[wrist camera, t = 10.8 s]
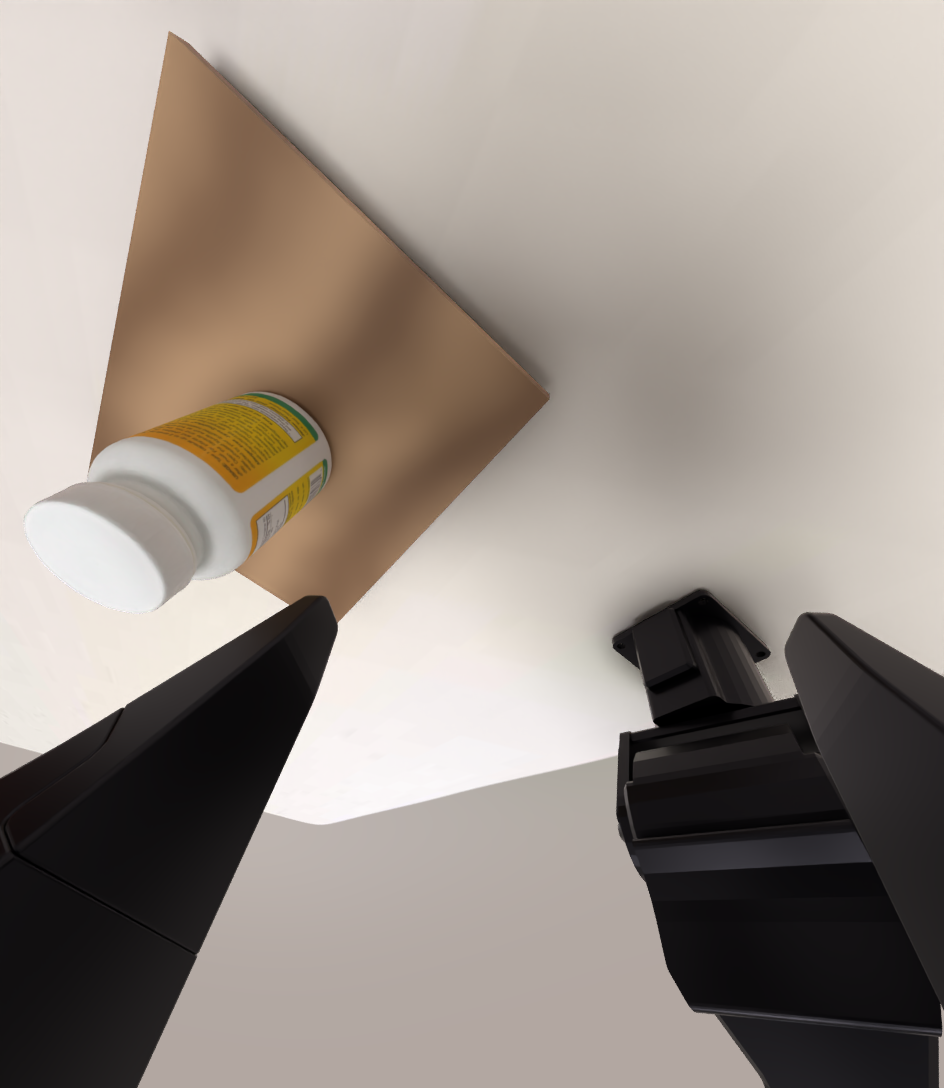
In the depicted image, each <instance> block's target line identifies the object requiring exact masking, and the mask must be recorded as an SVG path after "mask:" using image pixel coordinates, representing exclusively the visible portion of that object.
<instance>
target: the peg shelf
mask: <svg viewBox="0 0 944 1088" xmlns="http://www.w3.org/2000/svg"><path fill="white" fill-rule="evenodd" d="M250 392H268V393H273V394H277V395H280V396H282V397H285V398H287V399H288V400H290V401H292V402H293V403H295V404H296V405H298V406H299V407H300V408H302V409H303V410H304V411H305V412H306V413H307V414H308V415H309V416H310V417H311V418H312V419H313V420H314V421H315V422H316V423H317V424H318V426H319V427H320V429H321V430H322V432H323V434H324V436H325V438H326V440H327V442H328V445H329V448H330V452H331V460H332V467H331V473H330V477H329V479H328V481H327V483H326V485H325V486H324V488H323V489H322V490H321V491H320V492H319V493H318V494H317V495H316V496H315V497H314V498H313V499H312V500H311V501H310V502H309V503H308V504H307V505H306V506H305V507H304V508H302V509H301V510H300V511H299V512H298V513H297V514H296V515H295V516H294V517H292V518H291V519H290V520H289V521H288V522H287V523H286V524H285V525H284V526H283V527H282V528H281V529H279V531H278V532H277V533H275V534H274V535H273V536H272V537H271V538H270V539H269V540H268V541H267V542H266V543H265V544H264V545H263V546H262V547H260V548H259V549H258V550H257V551H256V552H255V553H254V554H253V555H252V556H251V557H250V558H248V559H247V560H246V561H245V562H244V563H243V564H242V565H240V566H239V567H238V568H237V569H235V571H237V572H238V573H240V574H242V575H243V576H245V577H246V578H248V579H250V580H251V581H253V582H254V583H256V584H257V585H259V586H261V587H262V588H264V589H265V590H267V591H268V592H270V593H272V594H273V595H275V596H276V597H278V598H279V599H281V600H283V601H284V602H286V603H287V604H289V605H291V604H293V603H294V602H296V601H298V600H299V599H301V598H303V597H304V596H307V595H322V596H325V597H326V598H327V599H328V600H329V603H330V605H331V608H332V610H333V613H334V615H335V618H336V620H337V623H338V622H339V621H340V620H341V619H342V618H343V616H344V615H345V614H346V613H347V612H348V611H349V610H350V609H351V608H352V607H353V606H354V605H355V604H356V603H357V602H358V601H359V600H360V599H361V597H362V596H363V595H364V594H365V593H366V592H367V591H368V590H369V589H370V588H371V587H372V586H373V585H374V584H375V583H376V582H377V581H378V580H379V578H380V577H381V576H382V575H383V574H384V573H385V572H386V571H387V570H388V569H389V568H390V567H391V566H392V565H393V564H394V563H395V562H396V561H397V560H398V558H399V557H400V556H401V555H402V554H403V553H404V552H405V551H406V550H407V549H408V548H409V547H410V546H411V545H412V544H413V543H414V542H415V541H416V539H417V538H418V537H419V536H420V535H421V534H422V533H423V532H424V531H425V530H426V529H427V528H428V527H429V526H430V525H431V524H432V523H433V522H434V520H435V519H436V518H437V517H438V516H439V515H440V514H441V513H442V512H443V511H444V510H445V509H446V508H447V507H448V506H449V505H450V504H451V503H452V501H453V500H454V499H455V498H456V497H457V496H458V495H459V494H460V493H461V492H462V491H463V490H464V489H465V488H466V487H467V486H468V485H469V484H470V482H471V481H472V480H473V479H474V478H475V477H476V476H477V475H478V474H479V473H480V472H481V471H482V470H483V469H484V468H485V467H486V466H487V465H488V463H489V462H490V461H491V460H492V459H493V458H494V457H495V456H496V455H497V454H498V453H499V452H500V451H501V450H502V449H503V448H504V447H505V446H506V444H507V443H508V442H509V441H510V440H511V439H512V438H513V437H514V436H515V435H516V434H517V433H518V432H519V431H520V430H521V429H522V428H523V427H524V425H525V424H526V423H527V422H528V421H529V420H530V419H531V418H532V417H533V416H534V415H535V414H536V413H537V412H538V411H539V410H540V409H541V408H542V406H543V405H544V404H545V403H546V402H547V401H548V400H549V393H548V392H546V391H545V390H544V389H543V388H542V387H541V386H540V385H539V384H538V383H537V382H536V381H535V380H534V379H533V378H532V377H531V376H530V375H529V374H528V373H527V372H526V371H525V370H524V369H523V368H522V367H521V366H520V365H519V364H518V363H517V362H516V361H515V360H514V359H513V358H512V357H511V356H510V355H508V354H507V353H506V352H505V351H504V350H503V349H502V348H501V347H500V346H499V345H498V344H497V343H496V342H495V341H494V340H493V339H492V338H491V337H490V336H489V335H488V334H487V333H486V332H485V331H484V330H483V329H482V328H481V327H480V326H479V325H478V324H477V323H476V322H475V321H474V320H473V319H471V318H470V317H469V316H468V315H467V314H466V313H465V312H464V311H463V310H462V309H461V308H460V307H459V306H458V305H457V304H456V303H455V302H454V301H453V300H452V299H451V298H450V297H449V296H448V295H447V294H446V293H445V292H444V291H443V290H442V289H441V288H440V287H439V286H438V285H437V284H436V283H434V282H433V281H432V280H431V279H430V278H429V277H428V276H427V275H426V274H425V273H424V272H423V271H422V270H421V269H420V268H419V267H418V266H417V265H416V264H415V263H414V262H413V261H412V260H411V259H410V258H409V257H408V256H407V255H406V254H405V253H404V252H403V251H402V250H401V249H400V248H399V247H398V246H396V245H395V244H394V243H393V242H392V241H391V240H390V239H389V238H388V237H387V236H386V235H385V234H384V233H383V232H382V231H381V230H380V229H379V228H378V227H377V226H376V225H375V224H374V223H373V222H372V221H371V220H370V219H369V218H368V217H367V216H366V215H365V214H364V213H363V212H362V211H361V210H359V209H358V208H357V207H356V206H355V205H354V204H353V203H352V202H351V201H350V200H349V199H348V198H347V197H346V196H345V195H344V194H343V193H342V192H341V191H340V190H339V189H338V188H337V187H336V186H335V185H334V184H333V183H332V182H331V181H330V180H329V179H328V178H327V177H326V176H325V175H324V174H322V173H321V172H320V171H319V170H318V169H317V168H316V167H315V166H314V165H313V164H312V163H311V162H310V161H309V160H308V159H307V158H306V157H305V156H304V155H303V154H302V153H301V152H300V151H299V150H298V149H297V148H296V147H295V146H294V145H293V144H292V143H291V142H290V141H289V140H288V139H287V138H286V137H284V136H283V135H282V134H281V133H280V132H279V131H278V130H277V129H276V128H275V127H274V126H273V125H272V124H271V123H270V122H269V121H268V120H267V119H266V118H265V117H264V116H263V115H262V114H261V113H260V112H259V111H258V110H257V109H256V108H255V107H254V106H253V105H252V104H251V103H250V102H249V101H247V100H246V99H245V98H244V97H243V96H242V95H241V94H240V93H239V92H238V91H237V90H236V89H235V88H234V87H233V86H232V85H231V84H230V83H229V82H228V81H227V80H226V79H225V78H224V77H223V76H222V75H221V74H220V73H219V72H218V71H217V70H216V69H215V68H214V67H213V66H212V65H210V64H209V63H208V62H207V61H206V60H205V59H204V58H203V57H202V56H201V55H200V54H199V53H198V52H197V51H196V50H195V49H194V48H193V47H192V46H191V45H190V44H189V43H187V42H186V41H184V40H183V39H181V38H179V37H178V36H176V35H175V34H173V33H172V32H170V31H169V34H168V39H167V44H166V50H165V55H164V61H163V66H162V72H161V77H160V83H159V88H158V94H157V99H156V105H155V110H154V116H153V121H152V127H151V132H150V138H149V143H148V148H147V154H146V159H145V165H144V170H143V176H142V181H141V187H140V192H139V198H138V203H137V209H136V214H135V220H134V225H133V231H132V236H131V242H130V247H129V253H128V258H127V263H126V269H125V274H124V280H123V285H122V291H121V296H120V302H119V307H118V313H117V318H116V324H115V329H114V335H113V340H112V346H111V351H110V357H109V362H108V367H107V373H106V378H105V384H104V389H103V395H102V400H101V406H100V411H99V417H98V422H97V428H96V433H95V439H94V444H93V450H92V455H91V461H90V466H89V469H90V467H91V465H92V463H93V461H94V459H95V458H96V457H97V455H98V454H99V453H100V452H102V451H103V450H104V449H105V448H106V447H108V446H110V445H111V444H113V443H115V442H118V441H120V440H122V439H125V438H128V437H130V436H133V435H136V434H138V433H141V432H144V431H146V430H149V429H151V428H154V427H157V426H160V425H162V424H165V423H168V422H170V421H173V420H175V419H178V418H181V417H183V416H186V415H189V414H191V413H194V412H196V411H199V410H202V409H204V408H207V407H210V406H212V405H215V404H217V403H220V402H223V401H226V400H229V399H231V398H233V397H236V396H240V395H243V394H245V393H250ZM88 473H89V471H88Z"/></svg>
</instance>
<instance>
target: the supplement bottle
mask: <svg viewBox="0 0 944 1088" xmlns="http://www.w3.org/2000/svg"><path fill="white" fill-rule="evenodd" d="M331 467H332V460H331V452H330V448H329V445H328V442H327V440H326V438H325V436H324V434H323V432H322V430H321V429H320V427H319V426H318V424H317V423H316V422H315V421H314V420H313V419H312V418H311V417H310V416H309V415H308V414H307V413H306V412H305V411H304V410H303V409H302V408H300V407H299V406H298V405H296V404H295V403H293V402H292V401H290V400H288V399H287V398H285V397H282V396H280V395H277V394H273V393H268V392H250V393H245V394H243V395H240V396H236V397H233V398H231V399H229V400H226V401H223V402H220V403H217V404H215V405H212V406H210V407H207V408H204V409H202V410H199V411H196V412H194V413H191V414H189V415H186V416H183V417H181V418H178V419H175V420H173V421H170V422H168V423H165V424H162V425H160V426H157V427H154V428H151V429H149V430H146V431H144V432H141V433H138V434H136V435H133V436H130V437H128V438H125V439H122V440H120V441H118V442H115V443H113V444H111V445H110V446H108V447H106V448H105V449H104V450H103V451H102V452H100V453H99V454H98V455H97V457H96V458H95V459H94V461H93V463H92V465H91V467H90V469H89V473H88V478H87V482H85V483H78V484H75V485H72V486H70V487H68V488H66V489H65V490H63V491H61V492H59V493H56V494H54V495H52V496H50V497H48V498H46V499H44V500H42V501H39V502H37V503H36V504H35V505H34V506H32V507H31V508H30V509H29V510H28V512H27V513H26V515H25V517H24V530H25V534H26V537H27V540H28V542H29V544H30V545H31V547H32V549H33V551H34V552H35V554H36V555H37V557H38V558H39V559H40V561H41V562H42V563H43V564H44V565H45V566H46V568H48V569H49V570H50V571H51V572H52V573H53V574H54V575H55V576H56V577H57V578H58V579H60V580H61V581H62V582H63V583H65V584H66V585H67V586H68V587H70V588H71V589H73V590H74V591H76V592H78V593H79V594H81V595H82V596H84V597H86V598H88V599H89V600H91V601H93V602H95V603H97V604H100V605H102V606H105V607H107V608H110V609H114V610H117V611H121V612H127V613H134V614H141V613H147V612H151V611H154V610H156V609H158V608H159V607H160V606H162V605H163V604H164V603H165V602H167V601H168V600H169V599H170V598H172V597H173V596H174V595H175V594H177V593H178V592H179V591H181V590H182V589H184V588H185V587H186V586H187V585H188V584H189V582H190V581H191V580H209V579H214V578H218V577H221V576H224V575H226V574H229V573H230V572H232V571H234V570H235V569H237V568H238V567H239V566H240V565H242V564H243V563H244V562H245V561H246V560H247V559H248V558H250V557H251V556H252V555H253V554H254V553H255V552H256V551H257V550H258V549H259V548H260V547H262V546H263V545H264V544H265V543H266V542H267V541H268V540H269V539H270V538H271V537H272V536H273V535H274V534H275V533H277V532H278V531H279V529H281V528H282V527H283V526H284V525H285V524H286V523H287V522H288V521H289V520H290V519H291V518H292V517H294V516H295V515H296V514H297V513H298V512H299V511H300V510H301V509H302V508H304V507H305V506H306V505H307V504H308V503H309V502H310V501H311V500H312V499H313V498H314V497H315V496H316V495H317V494H318V493H319V492H320V491H321V490H322V489H323V488H324V486H325V485H326V483H327V481H328V479H329V477H330V473H331Z"/></svg>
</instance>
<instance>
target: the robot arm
mask: <svg viewBox="0 0 944 1088" xmlns="http://www.w3.org/2000/svg"><path fill="white" fill-rule="evenodd" d="M703 598H704V600H702V601H700V599H703ZM337 631H338V624H337V620H336V618H335V615H334V613H333V610H332V608H331V605H330V603H329V600H328V599H327V598H326V597H325V596H322V595H307V596H304V597H303V598H301V599H299V600H298V601H296V602H294V603H293V604H291V605H289V606H288V607H286V608H285V609H283V610H281V611H280V612H278V613H276V614H275V615H273V616H271V617H270V618H268V619H266V620H265V621H263V622H262V623H260V624H258V625H257V626H255V627H253V628H252V629H250V630H248V631H247V632H245V633H243V634H242V635H240V636H239V637H237V638H235V639H234V640H232V641H230V642H229V643H227V644H225V645H224V646H222V647H221V648H219V649H217V650H216V651H214V652H212V653H211V654H209V655H207V656H206V657H204V658H202V659H201V660H199V661H198V662H196V663H194V664H193V665H191V666H189V667H188V668H186V669H184V670H183V671H181V672H179V673H178V674H176V675H175V676H173V677H171V678H170V679H168V680H166V681H165V682H163V683H161V684H160V685H158V686H157V687H155V688H153V689H152V690H150V691H148V692H147V693H145V694H143V695H142V696H140V697H138V698H137V699H135V700H134V701H132V702H130V703H129V704H127V705H126V707H125V708H120V709H119V710H117V711H115V712H114V713H112V714H110V715H109V716H107V717H106V718H104V719H102V720H101V721H99V722H97V723H96V724H94V725H92V726H91V727H89V728H87V729H86V730H84V731H82V732H81V733H79V734H77V735H76V736H74V737H72V738H70V739H69V740H67V741H65V742H64V743H62V744H60V745H59V746H57V747H55V748H53V749H52V750H50V751H48V752H46V753H44V754H43V755H41V756H39V757H37V758H36V759H34V760H32V761H30V762H28V763H27V764H25V765H23V766H21V767H20V768H18V769H16V770H14V771H13V772H11V773H9V774H7V775H5V776H3V777H2V778H0V1088H137V1087H138V1085H139V1083H140V1081H141V1078H142V1076H143V1074H144V1072H145V1070H146V1068H147V1065H148V1063H149V1061H150V1059H151V1057H152V1054H153V1052H154V1050H155V1048H156V1046H157V1043H158V1041H159V1039H160V1037H161V1035H162V1033H163V1030H164V1028H165V1026H166V1024H167V1022H168V1019H169V1017H170V1015H171V1013H172V1011H173V1009H174V1006H175V1004H176V1002H177V1000H178V998H179V995H180V993H181V991H182V989H183V987H184V985H185V982H186V980H187V978H188V976H189V974H190V971H191V969H192V967H193V965H194V963H195V960H196V958H197V953H199V951H200V949H201V947H202V944H203V942H204V940H205V938H206V936H207V933H208V931H209V929H210V927H211V925H212V923H213V920H214V918H215V916H216V913H217V911H218V909H219V907H220V905H221V903H222V900H223V898H224V896H225V894H226V892H227V890H228V888H229V885H230V883H231V881H232V879H233V877H234V874H235V872H236V870H237V868H238V865H239V863H240V861H241V859H242V857H243V855H244V852H245V850H246V848H247V846H248V843H249V841H250V839H251V837H252V835H253V833H254V831H255V828H256V826H257V824H258V822H259V819H260V818H261V815H262V813H263V811H264V809H265V807H266V804H267V802H268V800H269V798H270V796H271V793H272V791H273V789H274V787H275V785H276V783H277V780H278V778H279V776H280V774H281V772H282V769H283V767H284V765H285V763H286V761H287V758H288V756H289V754H290V752H291V750H292V748H293V745H294V743H295V741H296V739H297V737H298V734H299V732H300V730H301V728H302V726H303V723H304V721H305V719H306V717H307V715H308V713H309V710H310V708H311V706H312V703H313V701H314V699H315V696H316V694H317V691H318V688H319V686H320V683H321V680H322V677H323V674H324V671H325V668H326V665H327V662H328V659H329V656H330V653H331V650H332V647H333V644H334V641H335V638H336V636H337ZM620 643H623V644H620ZM612 644H613V648H614V649H615V650H616V651H617V652H618V653H620V654H621V655H622V656H623V657H625V658H626V659H627V660H628V661H630V662H631V663H632V664H633V665H635V666H636V667H637V668H639V669H640V670H641V675H642V679H643V684H644V686H645V688H646V693H647V697H648V702H649V706H650V710H651V715H652V719H653V722H654V723H655V728H651V729H646V730H642V731H637V732H633V733H631V732H630V731H628V732H624V733H620V742H619V749H618V779H617V807H616V808H617V809H616V815H617V819H618V822H619V824H618V830H619V834H620V837H621V838H622V840H623V841H624V842H625V843H626V846H627V849H628V851H629V854H630V857H631V859H632V861H633V864H634V866H635V868H636V869H637V871H638V873H639V875H640V876H641V877H642V878H643V880H644V881H645V882H646V884H647V887H648V891H649V894H650V897H651V901H652V904H653V908H654V912H655V916H656V921H657V925H658V929H659V934H660V939H661V943H662V948H663V952H664V956H665V961H666V965H667V968H668V970H669V972H670V974H671V976H672V978H673V980H674V981H675V983H676V985H677V986H678V988H679V990H680V991H681V993H682V995H683V997H684V999H685V1000H686V1002H687V1004H688V1005H689V1007H690V1008H691V1009H692V1010H693V1011H694V1012H696V1013H707V1014H715V1015H716V1017H717V1018H718V1019H719V1021H720V1022H721V1023H722V1025H723V1026H724V1027H725V1029H726V1030H727V1032H728V1033H729V1034H730V1036H731V1037H732V1039H733V1040H734V1041H735V1043H736V1044H737V1045H738V1047H739V1048H740V1050H741V1051H742V1052H743V1054H744V1055H745V1056H746V1058H747V1059H748V1060H749V1062H750V1063H751V1064H752V1066H753V1067H754V1069H755V1070H756V1071H757V1073H758V1074H759V1076H760V1078H761V1079H762V1081H763V1083H764V1086H765V1088H939V1046H938V1043H939V1041H938V1037H941V1036H942V1019H941V1005H942V1007H943V1010H944V677H943V676H941V675H939V674H938V673H936V672H934V671H932V670H931V669H929V668H927V667H925V666H924V665H922V664H920V663H918V662H917V661H915V660H913V659H912V658H910V657H908V656H906V655H905V654H903V653H901V652H899V651H898V650H896V649H894V648H892V647H891V646H889V645H887V644H885V643H884V642H882V641H880V640H878V639H877V638H875V637H873V636H871V635H870V634H868V633H866V632H864V631H863V630H861V629H859V628H857V627H856V626H854V625H852V624H851V623H849V622H847V621H845V620H844V619H842V618H840V617H838V616H836V615H834V614H831V613H817V612H806V613H803V614H801V615H800V616H799V617H798V619H797V621H796V623H795V625H794V628H793V630H792V632H791V634H790V636H789V638H788V640H787V642H786V645H785V657H786V661H787V664H788V666H789V669H790V672H791V675H792V678H793V681H794V683H795V686H796V689H797V692H798V694H796V695H794V696H795V697H793V698H788V699H783V700H779V701H774V699H773V697H772V695H771V693H770V691H769V689H768V688H767V686H766V684H765V682H764V680H763V678H762V676H761V674H760V672H759V670H758V668H757V667H756V665H755V663H757V662H759V661H761V660H764V659H766V658H768V657H769V656H770V653H771V652H770V651H769V649H768V647H767V646H766V645H765V644H764V643H763V642H762V641H761V640H760V639H759V638H758V637H757V636H756V635H755V634H754V633H753V632H751V631H750V630H749V629H748V628H747V627H746V626H745V625H744V624H743V623H742V622H741V621H740V620H739V619H737V618H736V617H735V616H734V615H733V614H732V613H731V612H730V611H729V610H728V609H727V608H726V607H725V606H723V605H722V604H721V603H720V602H719V601H718V600H717V599H716V598H715V597H714V596H713V595H712V594H711V593H709V592H708V591H704V590H701V591H697V592H695V593H693V594H691V595H689V596H688V597H686V598H684V599H682V600H681V601H679V602H677V603H675V604H673V605H672V606H670V607H668V608H666V609H664V610H663V611H661V612H659V613H657V614H656V615H654V616H652V617H650V618H648V619H647V620H645V621H643V622H641V623H639V624H638V625H636V626H634V627H632V628H631V629H629V630H627V631H625V632H623V633H622V634H620V635H618V636H616V637H615V638H613V640H612ZM940 1003H941V1005H940Z"/></svg>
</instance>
